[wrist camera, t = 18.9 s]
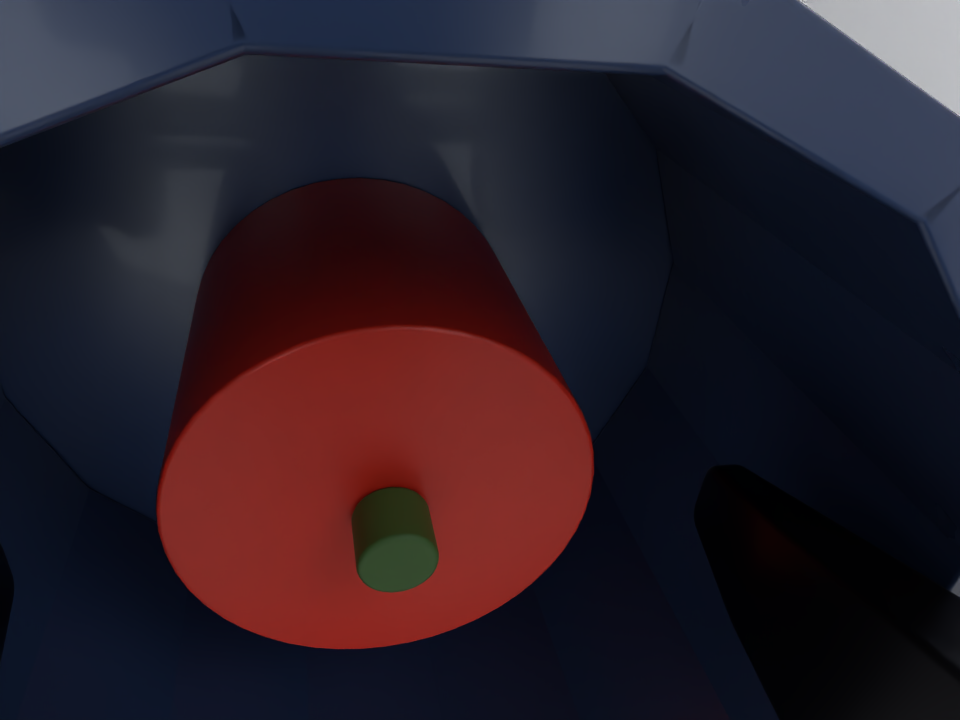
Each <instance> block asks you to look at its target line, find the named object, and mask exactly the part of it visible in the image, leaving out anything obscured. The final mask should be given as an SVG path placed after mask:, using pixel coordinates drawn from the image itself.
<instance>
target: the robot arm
mask: <svg viewBox="0 0 960 720" xmlns="http://www.w3.org/2000/svg"><path fill="white" fill-rule="evenodd" d="M694 522H695V526H696V529H697V532H698V534H699V537H700V540H701V542H702V545H703V548H704V550H705V553H706V556H707V559H708V561H709V564H710V567H711V569H712V572H713V575H714V577H715V580H716V583H717V586H718V588H719V591H720V594H721V596H722V599H723V602H724V604H725V607H726V609H727V612H728V614H729V617H730V619H731V622H732V624H733V626H734V628H735V630H736V633H737V635H738V637H739V639H740V641H741V643H742V645H743V647H744V649H745V651H746V653H747V655H748V657H749V659H750V661H751V663H752V665H753V667H754V669H755V671H756V674H757V676H758V678H759V680H760V682H761V684H762V686H763V688H764V690H765V692H766V694H767V696H768V698H769V700H770V702H771V704H772V706H773V708H774V710H775V712H776V714H777V716H778V718H779V720H960V597H959V596H957V595H956V594H954V593H952V592H951V591H949V590H947V589H946V588H944V587H942V586H941V585H939V584H937V583H936V582H934V581H932V580H931V579H929V578H927V577H926V576H924V575H922V574H921V573H919V572H917V571H916V570H914V569H912V568H911V567H909V566H908V565H906V564H904V563H903V562H901V561H899V560H898V559H896V558H894V557H893V556H891V555H889V554H888V553H886V552H884V551H883V550H881V549H879V548H878V547H876V546H874V545H873V544H871V543H869V542H868V541H866V540H864V539H863V538H861V537H859V536H858V535H856V534H854V533H853V532H851V531H849V530H848V529H846V528H844V527H843V526H841V525H840V524H838V523H836V522H835V521H833V520H831V519H830V518H828V517H826V516H825V515H823V514H821V513H820V512H818V511H816V510H815V509H813V508H811V507H810V506H808V505H806V504H805V503H803V502H801V501H800V500H798V499H796V498H795V497H793V496H791V495H790V494H788V493H786V492H785V491H783V490H781V489H780V488H778V487H776V486H775V485H773V484H772V483H770V482H768V481H767V480H765V479H763V478H762V477H760V476H758V475H757V474H755V473H753V472H752V471H750V470H748V469H747V468H745V467H743V466H741V465H738V464H727V465H716V466H712V467H711V468H709V470H708V471H707V472H706V475H705V477H704V480H703V483H702V486H701V489H700V492H699V495H698V498H697V501H696V504H695V507H694ZM13 598H14V578H13V574H12V571H11V569H10V566H9V563H8V561H7V558H6V555H5V553H4V550H3V547H2V545H1V542H0V663H1V658H2V653H3V648H4V643H5V638H6V633H7V628H8V623H9V618H10V613H11V608H12V604H13Z"/></svg>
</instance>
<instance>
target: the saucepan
mask: <svg viewBox="0 0 960 720" xmlns="http://www.w3.org/2000/svg"><path fill="white" fill-rule="evenodd" d="M348 178H367V179H379V180H386V181H391V182H396V183H401V184H405V185H408V186H411V187H414V188H416V189H419V190H422V191H425V192H427V193H429V194H431V195H433V196H435V197H437V198H439V199H441V200H443V201H445V202H446V203H447V204H449V205H450V206H452V207H453V208H455V209H456V210H458V211H459V212H461V213H462V214H463V215H464V216H465V217H466V218H467V219H468V220H469V221H470V222H471V223H472V224H474V225H475V226H476V228H477V229H478V230H479V231H480V233H481V234H482V235H483V236H484V238H485V239H486V240H487V242H488V243H489V245H490V247H491V248H492V250H493V252H494V253H495V255H496V257H497V259H498V260H499V262H500V264H501V266H502V268H503V269H504V271H505V273H506V275H507V277H508V278H509V280H510V282H511V284H512V286H513V288H514V289H515V291H516V293H517V295H518V297H519V298H520V300H521V302H522V304H523V306H524V307H525V309H526V311H527V313H528V315H529V316H530V318H531V320H532V322H533V324H534V326H535V327H536V329H537V331H538V333H539V335H540V336H541V338H542V340H543V342H544V344H545V345H546V347H547V349H548V351H549V353H550V354H551V356H552V358H553V360H554V362H555V364H556V365H557V367H558V369H559V371H560V373H561V374H562V376H563V378H564V380H565V382H566V383H567V385H568V387H569V389H570V391H571V392H572V394H573V396H574V398H575V400H576V402H577V403H578V405H579V407H580V409H581V411H582V412H583V415H584V418H585V420H586V423H587V425H588V428H589V431H590V434H591V440H592V445H593V450H594V477H593V483H592V490H591V495H590V498H589V501H588V504H587V508H586V511H585V514H584V516H583V518H582V520H581V522H580V524H579V526H578V528H577V530H576V532H575V534H574V535H573V537H572V538H571V540H570V541H569V543H568V545H567V546H566V548H565V549H564V550H563V552H562V553H561V554H560V555H559V556H558V558H557V559H556V560H555V561H554V562H553V564H552V565H551V566H550V567H549V568H548V569H547V570H546V571H545V572H544V573H543V574H542V575H541V576H540V577H539V578H538V579H537V580H536V581H535V582H533V583H532V584H531V585H530V586H528V587H527V588H526V589H524V590H523V591H522V592H521V593H519V594H518V595H517V596H515V597H514V598H512V599H511V600H509V601H508V602H506V603H505V604H503V605H502V606H500V607H499V608H497V609H495V610H493V611H491V612H490V613H488V614H486V615H484V616H482V617H480V618H478V619H476V620H474V621H472V622H469V623H467V624H465V625H463V626H460V627H458V628H456V629H453V630H450V631H447V632H444V633H441V634H438V635H435V636H432V637H429V638H425V639H421V640H417V641H413V642H409V643H403V644H398V645H392V646H386V647H376V648H366V649H327V648H313V647H307V646H301V645H295V644H289V643H285V642H281V641H277V640H274V639H270V638H266V637H263V636H261V635H258V634H256V633H253V632H250V631H248V630H245V629H243V628H241V627H239V626H237V625H235V624H233V623H231V622H230V621H228V620H226V619H224V618H222V617H221V616H219V615H218V614H217V613H215V612H214V611H212V610H211V609H209V608H208V607H207V606H205V605H204V604H203V603H202V602H201V601H200V600H199V599H198V598H197V597H196V596H194V595H193V594H192V593H191V592H190V591H189V590H188V589H187V587H186V586H185V585H184V583H183V582H182V581H181V579H180V578H179V577H178V576H177V574H176V573H175V571H174V569H173V567H172V565H171V563H170V562H169V560H168V558H167V556H166V554H165V552H164V548H163V545H162V542H161V539H160V535H159V532H158V526H157V516H156V499H157V488H158V482H159V477H160V472H161V467H162V462H163V458H164V453H165V448H166V443H167V438H168V434H169V429H170V424H171V419H172V414H173V409H174V405H175V400H176V395H177V390H178V385H179V380H180V376H181V371H182V366H183V361H184V356H185V352H186V347H187V342H188V337H189V332H190V327H191V323H192V318H193V313H194V308H195V303H196V299H197V294H198V290H199V287H200V283H201V279H202V276H203V274H204V272H205V270H206V267H207V265H208V263H209V261H210V258H211V257H212V255H213V254H214V252H215V251H216V249H217V248H218V246H219V245H220V243H221V242H222V240H223V239H224V238H225V237H226V236H227V235H228V234H229V233H230V231H231V230H232V229H233V228H234V227H235V226H236V225H237V224H238V223H239V222H240V221H242V220H243V219H244V218H245V217H246V216H248V215H249V214H250V213H251V212H252V211H254V210H255V209H257V208H259V207H260V206H262V205H263V204H265V203H267V202H268V201H270V200H271V199H273V198H276V197H278V196H280V195H282V194H284V193H286V192H289V191H291V190H293V189H297V188H300V187H303V186H306V185H309V184H313V183H317V182H323V181H329V180H334V179H348ZM727 464H738V465H741V466H743V467H745V468H747V469H748V470H750V471H752V472H753V473H755V474H757V475H758V476H760V477H762V478H763V479H765V480H767V481H768V482H770V483H772V484H773V485H775V486H776V487H778V488H780V489H781V490H783V491H785V492H786V493H788V494H790V495H791V496H793V497H795V498H796V499H798V500H800V501H801V502H803V503H805V504H806V505H808V506H810V507H811V508H813V509H815V510H816V511H818V512H820V513H821V514H823V515H825V516H826V517H828V518H830V519H831V520H833V521H835V522H836V523H838V524H840V525H841V526H843V527H844V528H846V529H848V530H849V531H851V532H853V533H854V534H856V535H858V536H859V537H861V538H863V539H864V540H866V541H868V542H869V543H871V544H873V545H874V546H876V547H878V548H879V549H881V550H883V551H884V552H886V553H888V554H889V555H891V556H893V557H894V558H896V559H898V560H899V561H901V562H903V563H904V564H906V565H908V566H909V567H911V568H912V569H914V570H916V571H917V572H919V573H921V574H922V575H924V576H926V577H927V578H929V579H931V580H932V581H934V582H936V583H937V584H939V585H941V586H942V587H944V588H946V589H947V590H949V591H951V592H952V593H954V594H956V595H957V596H959V597H960V116H958V115H957V114H955V113H954V112H953V111H951V110H950V109H949V108H947V107H946V106H944V105H943V104H942V103H940V102H939V101H937V100H936V99H935V98H933V97H932V96H930V95H929V94H928V93H926V92H925V91H924V90H922V89H921V88H919V87H918V86H917V85H915V84H914V83H912V82H911V81H910V80H908V79H907V78H906V77H904V76H903V75H901V74H900V73H899V72H897V71H896V70H894V69H893V68H892V67H890V66H889V65H888V64H886V63H885V62H883V61H882V60H881V59H879V58H878V57H876V56H875V55H874V54H872V53H871V52H869V51H868V50H867V49H865V48H864V47H863V46H861V45H860V44H858V43H857V42H856V41H854V40H853V39H851V38H850V37H849V36H847V35H846V34H845V33H843V32H842V31H840V30H839V29H838V28H836V27H835V26H833V25H832V24H831V23H829V22H828V21H826V20H825V19H824V18H822V17H821V16H820V15H818V14H817V13H815V12H814V11H813V10H811V9H810V8H808V7H807V6H806V5H804V4H803V3H802V2H800V1H799V0H0V542H1V545H2V547H3V550H4V553H5V555H6V558H7V561H8V563H9V566H10V569H11V571H12V574H13V578H14V598H13V604H12V608H11V613H10V618H9V623H8V628H7V633H6V638H5V643H4V648H3V653H2V658H1V663H0V720H779V718H778V716H777V714H776V712H775V710H774V708H773V706H772V704H771V702H770V700H769V698H768V696H767V694H766V692H765V690H764V688H763V686H762V684H761V682H760V680H759V678H758V676H757V674H756V671H755V669H754V667H753V665H752V663H751V661H750V659H749V657H748V655H747V653H746V651H745V649H744V647H743V645H742V643H741V641H740V639H739V637H738V635H737V633H736V630H735V628H734V626H733V624H732V622H731V619H730V617H729V614H728V612H727V609H726V607H725V604H724V602H723V599H722V596H721V594H720V591H719V588H718V586H717V583H716V580H715V577H714V575H713V572H712V569H711V567H710V564H709V561H708V559H707V556H706V553H705V550H704V548H703V545H702V542H701V540H700V537H699V534H698V532H697V529H696V526H695V522H694V507H695V504H696V501H697V498H698V495H699V492H700V489H701V486H702V483H703V480H704V477H705V475H706V472H707V471H708V470H709V468H711V467H712V466H716V465H727Z"/></svg>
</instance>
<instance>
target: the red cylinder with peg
mask: <svg viewBox="0 0 960 720" xmlns="http://www.w3.org/2000/svg"><path fill="white" fill-rule="evenodd" d="M593 477H594V450H593V445H592V440H591V434H590V431H589V428H588V425H587V423H586V420H585V418H584V415H583V412H582V411H581V409H580V407H579V405H578V403H577V402H576V400H575V398H574V396H573V394H572V392H571V391H570V389H569V387H568V385H567V383H566V382H565V380H564V378H563V376H562V374H561V373H560V371H559V369H558V367H557V365H556V364H555V362H554V360H553V358H552V356H551V354H550V353H549V351H548V349H547V347H546V345H545V344H544V342H543V340H542V338H541V336H540V335H539V333H538V331H537V329H536V327H535V326H534V324H533V322H532V320H531V318H530V316H529V315H528V313H527V311H526V309H525V307H524V306H523V304H522V302H521V300H520V298H519V297H518V295H517V293H516V291H515V289H514V288H513V286H512V284H511V282H510V280H509V278H508V277H507V275H506V273H505V271H504V269H503V268H502V266H501V264H500V262H499V260H498V259H497V257H496V255H495V253H494V252H493V250H492V248H491V247H490V245H489V243H488V242H487V240H486V239H485V238H484V236H483V235H482V234H481V233H480V231H479V230H478V229H477V228H476V226H475V225H474V224H472V223H471V222H470V221H469V220H468V219H467V218H466V217H465V216H464V215H463V214H462V213H461V212H459V211H458V210H456V209H455V208H453V207H452V206H450V205H449V204H447V203H446V202H445V201H443V200H441V199H439V198H437V197H435V196H433V195H431V194H429V193H427V192H425V191H422V190H419V189H416V188H414V187H411V186H408V185H405V184H401V183H396V182H391V181H386V180H379V179H367V178H348V179H334V180H329V181H323V182H317V183H313V184H309V185H306V186H303V187H300V188H297V189H293V190H291V191H289V192H286V193H284V194H282V195H280V196H278V197H276V198H273V199H271V200H270V201H268V202H267V203H265V204H263V205H262V206H260V207H259V208H257V209H255V210H254V211H252V212H251V213H250V214H249V215H248V216H246V217H245V218H244V219H243V220H242V221H240V222H239V223H238V224H237V225H236V226H235V227H234V228H233V229H232V230H231V231H230V233H229V234H228V235H227V236H226V237H225V238H224V239H223V240H222V242H221V243H220V245H219V246H218V248H217V249H216V251H215V252H214V254H213V255H212V257H211V258H210V261H209V263H208V265H207V267H206V270H205V272H204V274H203V276H202V279H201V283H200V287H199V290H198V294H197V299H196V303H195V308H194V313H193V318H192V323H191V327H190V332H189V337H188V342H187V347H186V352H185V356H184V361H183V366H182V371H181V376H180V380H179V385H178V390H177V395H176V400H175V405H174V409H173V414H172V419H171V424H170V429H169V434H168V438H167V443H166V448H165V453H164V458H163V462H162V467H161V472H160V477H159V482H158V488H157V499H156V516H157V526H158V532H159V535H160V539H161V542H162V545H163V548H164V552H165V554H166V556H167V558H168V560H169V562H170V563H171V565H172V567H173V569H174V571H175V573H176V574H177V576H178V577H179V578H180V579H181V581H182V582H183V583H184V585H185V586H186V587H187V589H188V590H189V591H190V592H191V593H192V594H193V595H194V596H196V597H197V598H198V599H199V600H200V601H201V602H202V603H203V604H204V605H205V606H207V607H208V608H209V609H211V610H212V611H214V612H215V613H217V614H218V615H219V616H221V617H222V618H224V619H226V620H228V621H230V622H231V623H233V624H235V625H237V626H239V627H241V628H243V629H245V630H248V631H250V632H253V633H256V634H258V635H261V636H263V637H266V638H270V639H274V640H277V641H281V642H285V643H289V644H295V645H301V646H307V647H313V648H327V649H366V648H376V647H386V646H392V645H398V644H403V643H409V642H413V641H417V640H421V639H425V638H429V637H432V636H435V635H438V634H441V633H444V632H447V631H450V630H453V629H456V628H458V627H460V626H463V625H465V624H467V623H469V622H472V621H474V620H476V619H478V618H480V617H482V616H484V615H486V614H488V613H490V612H491V611H493V610H495V609H497V608H499V607H500V606H502V605H503V604H505V603H506V602H508V601H509V600H511V599H512V598H514V597H515V596H517V595H518V594H519V593H521V592H522V591H523V590H524V589H526V588H527V587H528V586H530V585H531V584H532V583H533V582H535V581H536V580H537V579H538V578H539V577H540V576H541V575H542V574H543V573H544V572H545V571H546V570H547V569H548V568H549V567H550V566H551V565H552V564H553V562H554V561H555V560H556V559H557V558H558V556H559V555H560V554H561V553H562V552H563V550H564V549H565V548H566V546H567V545H568V543H569V541H570V540H571V538H572V537H573V535H574V534H575V532H576V530H577V528H578V526H579V524H580V522H581V520H582V518H583V516H584V514H585V511H586V508H587V504H588V501H589V498H590V495H591V490H592V483H593Z"/></svg>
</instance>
